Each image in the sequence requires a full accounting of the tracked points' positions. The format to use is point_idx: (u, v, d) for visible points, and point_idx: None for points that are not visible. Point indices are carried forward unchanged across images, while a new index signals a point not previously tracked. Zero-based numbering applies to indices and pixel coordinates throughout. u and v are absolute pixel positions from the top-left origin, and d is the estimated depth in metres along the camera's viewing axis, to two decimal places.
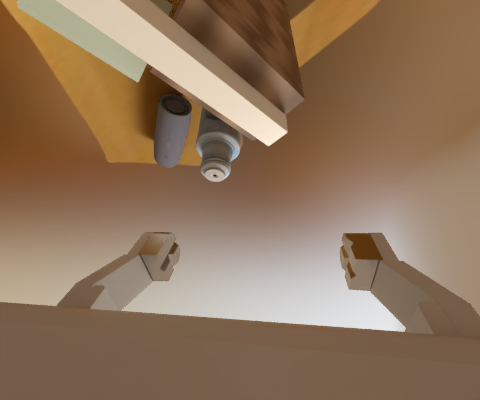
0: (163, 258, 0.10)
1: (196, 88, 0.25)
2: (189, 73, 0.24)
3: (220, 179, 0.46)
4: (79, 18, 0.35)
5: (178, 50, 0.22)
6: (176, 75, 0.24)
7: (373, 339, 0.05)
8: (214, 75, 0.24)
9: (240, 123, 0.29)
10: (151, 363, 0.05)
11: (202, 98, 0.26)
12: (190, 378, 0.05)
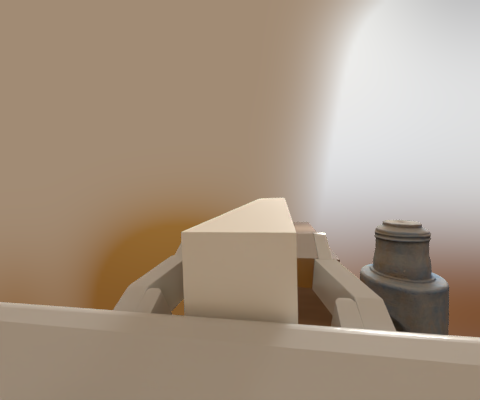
0: None
1: (275, 203, 0.20)
2: (264, 204, 0.19)
3: (396, 220, 0.32)
4: None
5: (244, 206, 0.17)
6: (277, 205, 0.17)
7: (373, 339, 0.05)
8: (249, 203, 0.21)
9: None
10: (151, 363, 0.05)
11: (283, 202, 0.21)
12: (190, 378, 0.05)
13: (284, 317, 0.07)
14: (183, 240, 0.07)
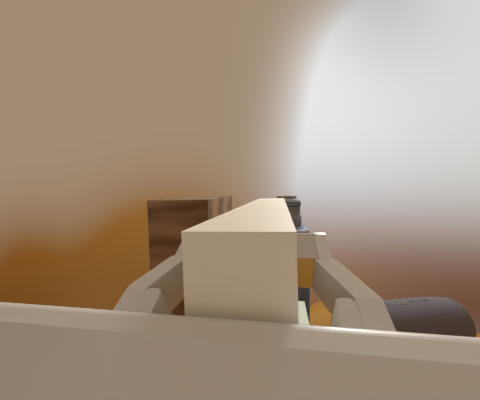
0: None
1: (274, 203, 0.20)
2: (263, 204, 0.19)
3: None
4: None
5: (243, 206, 0.17)
6: (276, 205, 0.17)
7: (373, 339, 0.05)
8: (248, 203, 0.21)
9: None
10: (151, 363, 0.05)
11: (282, 202, 0.21)
12: (190, 378, 0.05)
13: (285, 316, 0.07)
14: (183, 239, 0.07)
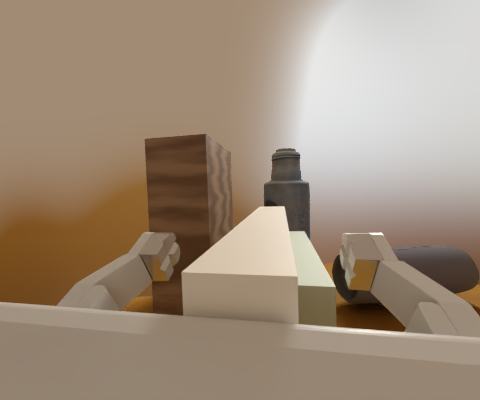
0: (163, 258, 0.10)
1: (275, 217, 0.20)
2: (264, 219, 0.19)
3: None
4: None
5: (244, 222, 0.17)
6: (277, 221, 0.17)
7: (373, 339, 0.05)
8: (248, 216, 0.21)
9: None
10: (151, 363, 0.05)
11: (283, 215, 0.21)
12: (190, 378, 0.05)
13: None
14: (183, 281, 0.07)
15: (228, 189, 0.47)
